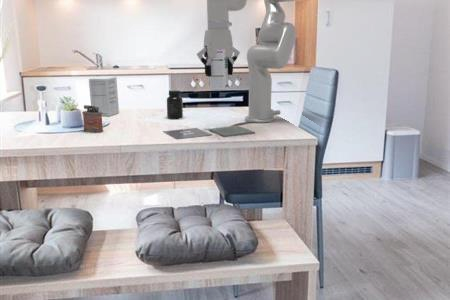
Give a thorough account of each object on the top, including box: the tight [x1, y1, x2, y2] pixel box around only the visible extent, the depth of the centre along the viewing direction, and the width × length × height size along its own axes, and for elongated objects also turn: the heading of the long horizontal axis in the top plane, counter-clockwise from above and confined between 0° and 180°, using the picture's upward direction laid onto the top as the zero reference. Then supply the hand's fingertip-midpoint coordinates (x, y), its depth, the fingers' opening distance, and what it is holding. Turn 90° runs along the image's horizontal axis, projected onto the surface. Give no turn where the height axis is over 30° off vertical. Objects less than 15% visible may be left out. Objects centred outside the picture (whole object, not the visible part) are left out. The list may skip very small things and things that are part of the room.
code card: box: [162, 127, 213, 140], centre depth 168 cm, size 14×14×1 cm
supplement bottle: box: [166, 89, 184, 120], centre depth 198 cm, size 7×7×12 cm
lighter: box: [82, 104, 104, 134], centre depth 171 cm, size 8×3×10 cm, turn 71°
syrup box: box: [209, 49, 230, 91], centre depth 165 cm, size 6×6×14 cm
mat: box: [208, 125, 256, 138], centre depth 171 cm, size 13×13×1 cm
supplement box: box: [88, 76, 120, 117], centre depth 206 cm, size 10×9×17 cm
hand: (219, 75), depth 166 cm, fingers closed on syrup box, 8 cm apart
